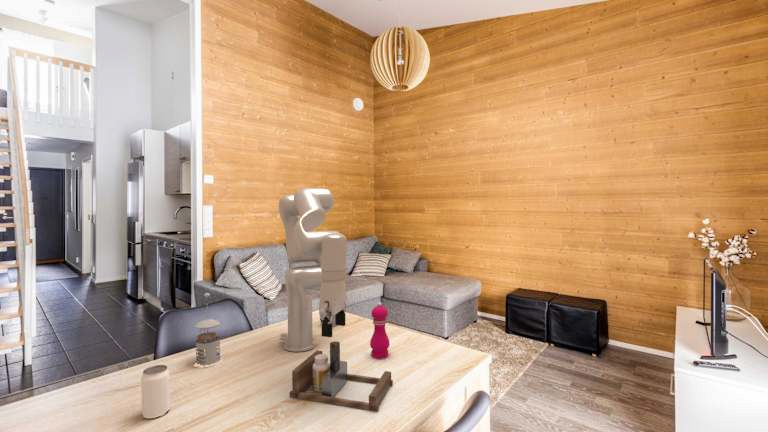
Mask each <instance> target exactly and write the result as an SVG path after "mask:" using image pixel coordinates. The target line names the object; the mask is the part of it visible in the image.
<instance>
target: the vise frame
mask: <svg viewBox="0 0 768 432" xmlns="http://www.w3.org/2000/svg"><path fill="white" fill-rule="evenodd" d="M319 354H323V350H316V351H314V352H313V353H312V354H310V355H309V356H308V357H307V358H305V360H303V361H302V362H300V363H299V365H297V366H296V367H294V369H292V371H291V374H292V375H291V376H292V377H291V379H292V381H291V382H292V385H291V386H292V387H291V388H292V390H290V391H289V393H288V394H289V398H291V399H297V400H303V401H305V400H306V401H309V402H317V403H322V404H326V405H327V404H329V405H334V406H335V405H336V406H340V407H345V408H347V407H348V408H353V409H359V410H365V411H372V412H377V413H378V412H379V409H380V405H381V404H382V401H383V400H384V398H385V396H386V395H387V393H388V391H389V389H390V388H391V387H393V385H394V379H392V371H388V370H387V371H386V370H385V371H384V372H383V374H382V375H381V376H380V377H373V376H366V375H359V374H351V373H347V381H351V382H358V383H359V382H360V383H367V384H371V385H372V384H374V385H375V386H374V387H373V389H372V390H371V392H370V393H369V395H368V402H365V401H360V400H353V399H348V398H340V397H335V396H334V397H329V396H322V394H315V393H308V392H307V391H308V390H309V389H310V388H311V387H313V364H314V363H315V356H316V355H319Z"/></svg>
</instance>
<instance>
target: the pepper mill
mask: <svg viewBox="0 0 768 432" xmlns="http://www.w3.org/2000/svg"><path fill="white" fill-rule="evenodd" d="M388 315H389V313H388V309H387V307H385V306H383V303H382V302H381V301H378V302H377V304H376V306H375V307H373V308H372V310H371V317H372V318H373V319H372V324H373V326H374V330H373V334H372V336H371V338H370V340H369V345H370V346H369V347H370V348H371V354H370V355H371V357H372V358H374V359H380V360H381V359H385V358H388V357H389V350H388V349H389V348H390V338H389V336H388V335H387V332H386V324H387V317H388Z"/></svg>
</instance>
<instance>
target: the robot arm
mask: <svg viewBox="0 0 768 432" xmlns="http://www.w3.org/2000/svg"><path fill="white" fill-rule="evenodd" d="M334 198H335V197H334V195H333V192H331V190H330V189H328V188H326V187H325V188H324V187H323V188H322V187H321V188H320V187H317V188H315V187H305V188H304V187H303V188H300V189H298V190H296V192H295V193H294V194H286V195H283V196H281V197H280V198H279V201H278V213H279V216H280V219H281V222H282V224H283V228H284V232H285V233H284V234H285V246H286V247H285V249H286V255H287V256H286V257H287V259H288V261H289V263H292V264H303V263H304V264H305V263H314V265H301V266H293V267H290V268H289V269H287V270H286V271H285V274H284V284H285V291H286V298H287V299H286V300H287V301H286V302H287V333H284V332H281V333H280V337H279V339H280V340H281V341H285V342H284V344H283V349H285V350H286V351H288V352H294V353H297V352H298V353H299V352H306V351H309V350H312V349H314V348H316V347H317V345H318V343H317V340H316V339H314V338H313V337H314V335H313V301H312V298H311V297H310V296H309V294H307V292H306V291H311V290H312V291H313V290H319V289H320V290H319V302H318V314H319V319H320V324H321V337H324V338H332V337H333V327H332V323H331V321H332V318H333V316H334V315H335V324H336V325H337V326H340V327H341V326H342V327H345V326H346V312H347V308H346V307H347V298H348V296H347V295H346V294H347V288H346V280H347V236H346V235H344V234H343V233H340V232H339V231H337V230H317V231H316V230H315V231H314V230H313V229H316V228H319V226H321V225H323V223H324V222H325V221H326V217H327V215H326V214H327V213H328V212H330V211H331V210H332V209H333V207H334V204H335V199H334ZM312 230H313V231H312ZM327 312H331V313H327ZM326 316H329V319H328V318H327V317H326Z"/></svg>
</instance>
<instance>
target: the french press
mask: <svg viewBox="0 0 768 432" xmlns="http://www.w3.org/2000/svg"><path fill="white" fill-rule="evenodd" d="M210 295H211V294H210V293H209V292H205V293H204V294H203V296H204V297H205V298H209V297H210ZM208 306H209V305H208V304H206V319H204V320H201V321H198V322H197V323H196V324H195V325H194V327H195V328H196V329H198V330H199V332H201V330H203V331H204V332H203V333H199V334H197V336H196V341H195V362H196V363H197V364H200V365H203V366H205V365H211V364H214V363H217V362H219V361H220V360H221V358H222V356H221V340H220V339H221V338H220V336H219V333H218V332H217V331H209V330H210V329H214V328H216V327H219V325H220V324H221V322H220V321H219V320H216V319H211V318H210V319H209V313H208V312H209V311H208V310H209V309H208V308H209V307H208ZM206 330H207V331H206ZM214 340H215V341H214ZM204 342H205V343H204Z"/></svg>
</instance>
